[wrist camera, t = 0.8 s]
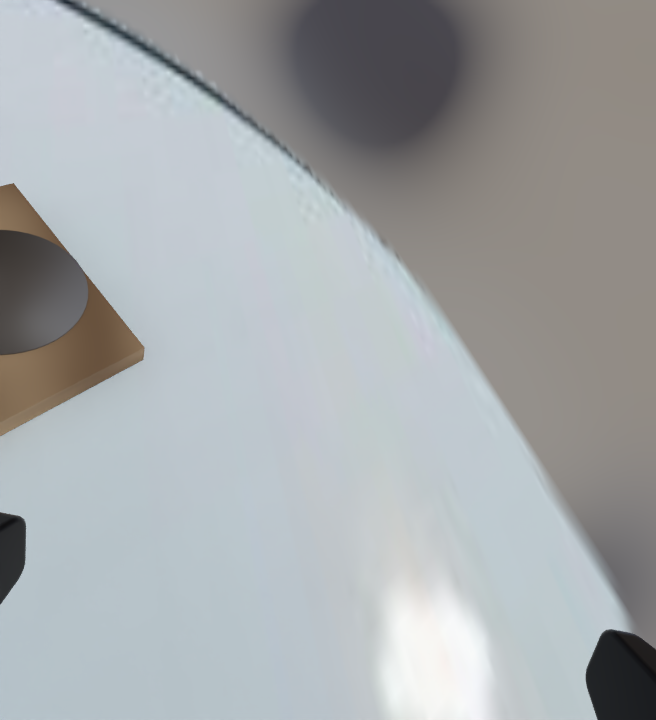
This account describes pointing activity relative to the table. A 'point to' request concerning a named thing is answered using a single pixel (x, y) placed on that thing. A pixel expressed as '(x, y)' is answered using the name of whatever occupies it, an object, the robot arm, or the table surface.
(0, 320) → the board
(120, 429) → the table surface
